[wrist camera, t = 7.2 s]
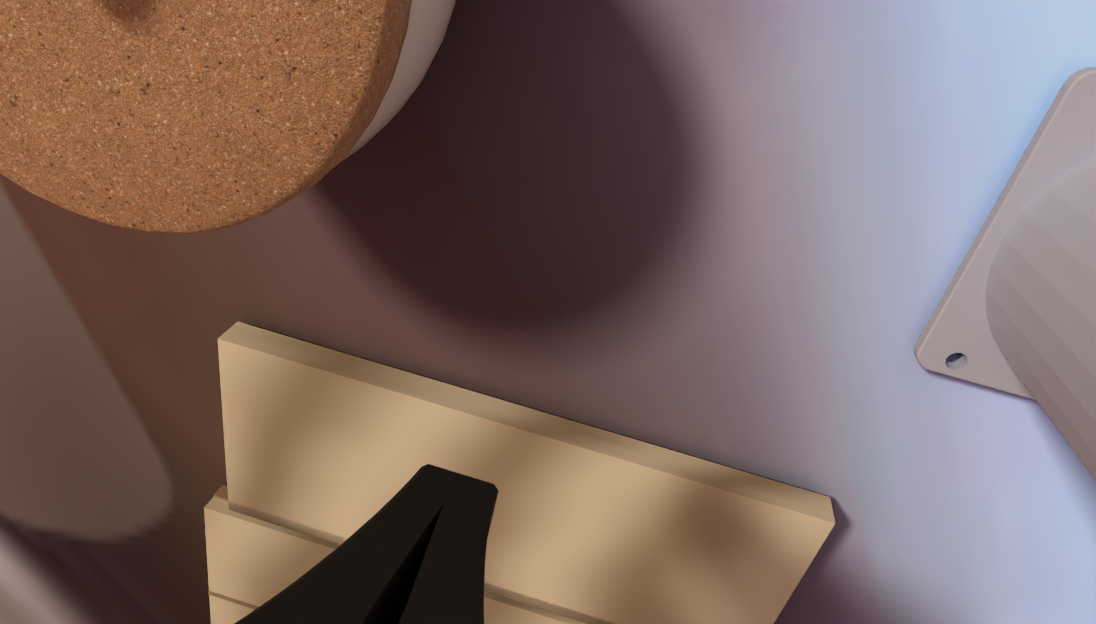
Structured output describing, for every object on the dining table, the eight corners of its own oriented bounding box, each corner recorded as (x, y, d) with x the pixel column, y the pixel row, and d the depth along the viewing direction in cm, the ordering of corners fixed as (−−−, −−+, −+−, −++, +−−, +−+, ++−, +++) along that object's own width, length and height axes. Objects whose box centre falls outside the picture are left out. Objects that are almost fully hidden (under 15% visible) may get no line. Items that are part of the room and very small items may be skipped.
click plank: (830, 497, 22) (835, 523, 21) (741, 645, 26) (742, 673, 25) (237, 321, 23) (217, 338, 22) (245, 489, 27) (228, 510, 26)
